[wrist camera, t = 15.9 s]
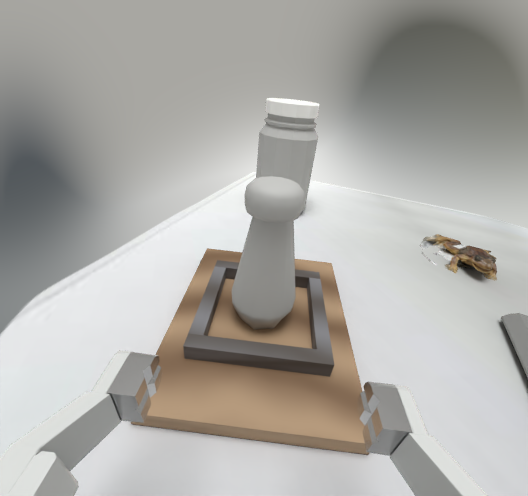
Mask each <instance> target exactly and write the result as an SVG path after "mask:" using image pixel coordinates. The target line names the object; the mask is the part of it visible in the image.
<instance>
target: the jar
mask: <svg viewBox="0 0 528 496" xmlns="http://www.w3.org/2000/svg"><path fill="white" fill-rule="evenodd" d="M319 106H320V105H319V104H318V103H314V102H308V101H301V100H300V101H299V100H292V99H281V98H268V99H267V100H266V112H267V113H268V118H266V119H265V122H266V125H265V126H264V127H263V128H262V129H261V131H260V133H259V147H258V159H257V160H258V161H257V173H256V178H259V177H268V176H274V177H282V178H286V179H290V180H292V181H294V182H296V183H298V184H299V185H300V187H301V188H302V189H303V191H304V192H305V202H304V206H303V210H304V209H305V204H306V199H307V193H308V188H309V183H310V177H311V172H312V167H313V161H314V156H315V151H316V145H317V140H318V136H317V134H316V131H315V129H314V128H315V127H316V123H314V119H315V118H317V117H318V111H319ZM303 210H302V211H303Z"/></svg>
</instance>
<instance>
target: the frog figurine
mask: <svg viewBox="0 0 528 496" xmlns="http://www.w3.org/2000/svg"><path fill="white" fill-rule="evenodd" d="M433 245H434V246H435V247H437V248H442V249H445V250H444V251H438V253H434V254H438V255H440V254H442V255H443V257H444V258H445V259H447V260H449V261H451V262H450V263H451V264H446V265H445V268H446V269H448V270H450V271H452V272H454V273H456V272H457V270H458V269H462V267H465V268H471V267H472V266H473V267H474V268H475V269H476V270H478V271H480V272H481V273H482V274H484V276H485V277H486V278H488V279H491V280H497V278H496V273H497V268H496V264H495V261H496V260H495V259H496V258H495V257H494V256H492V255H490V254H489V252H491V251H488V250H483V249H480V248H476V247H472V246H463V245H461V243H460V241H457V240H454V239H451V238H447V237H443V236H441V235H439V234H437V235H435V236H431V237H425V238H424V240H423V241H422V242H421V244H420V247H422V250H423V248H428V246H433ZM422 254H423V252H422ZM423 255H424V254H423ZM424 256H425V255H424ZM425 257H426V256H425ZM426 258H427V257H426ZM427 259H428V260H429V261H430V262H432V263H433V264H434V265H437V264H436V263H435V262H433V261H432V260H430V259H429V258H427ZM457 263H458V264H460V266H457Z"/></svg>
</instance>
